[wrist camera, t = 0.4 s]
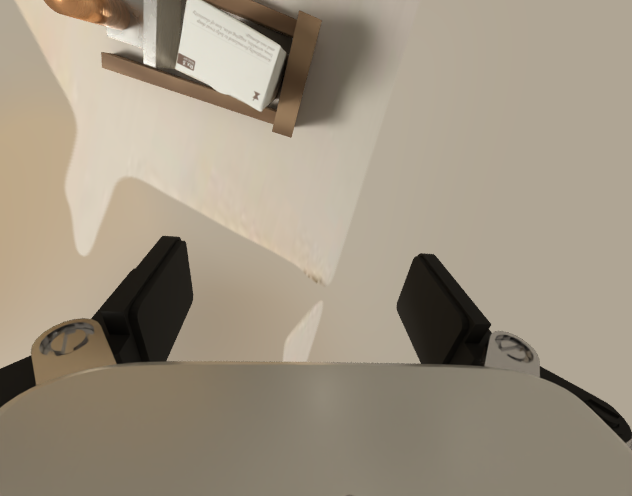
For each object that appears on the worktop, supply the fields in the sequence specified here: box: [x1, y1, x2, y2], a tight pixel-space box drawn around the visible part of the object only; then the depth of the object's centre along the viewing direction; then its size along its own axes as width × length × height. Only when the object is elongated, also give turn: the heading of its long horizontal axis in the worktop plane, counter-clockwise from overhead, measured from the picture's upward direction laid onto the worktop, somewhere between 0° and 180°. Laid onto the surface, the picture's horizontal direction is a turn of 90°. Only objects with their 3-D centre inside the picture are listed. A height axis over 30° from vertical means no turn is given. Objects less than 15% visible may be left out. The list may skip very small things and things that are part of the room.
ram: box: [44, 0, 182, 69], centre depth 28 cm, size 7×8×11 cm
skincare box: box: [175, 0, 289, 112], centre depth 30 cm, size 8×6×15 cm
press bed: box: [101, 0, 322, 137], centre depth 32 cm, size 12×24×8 cm, turn 72°
